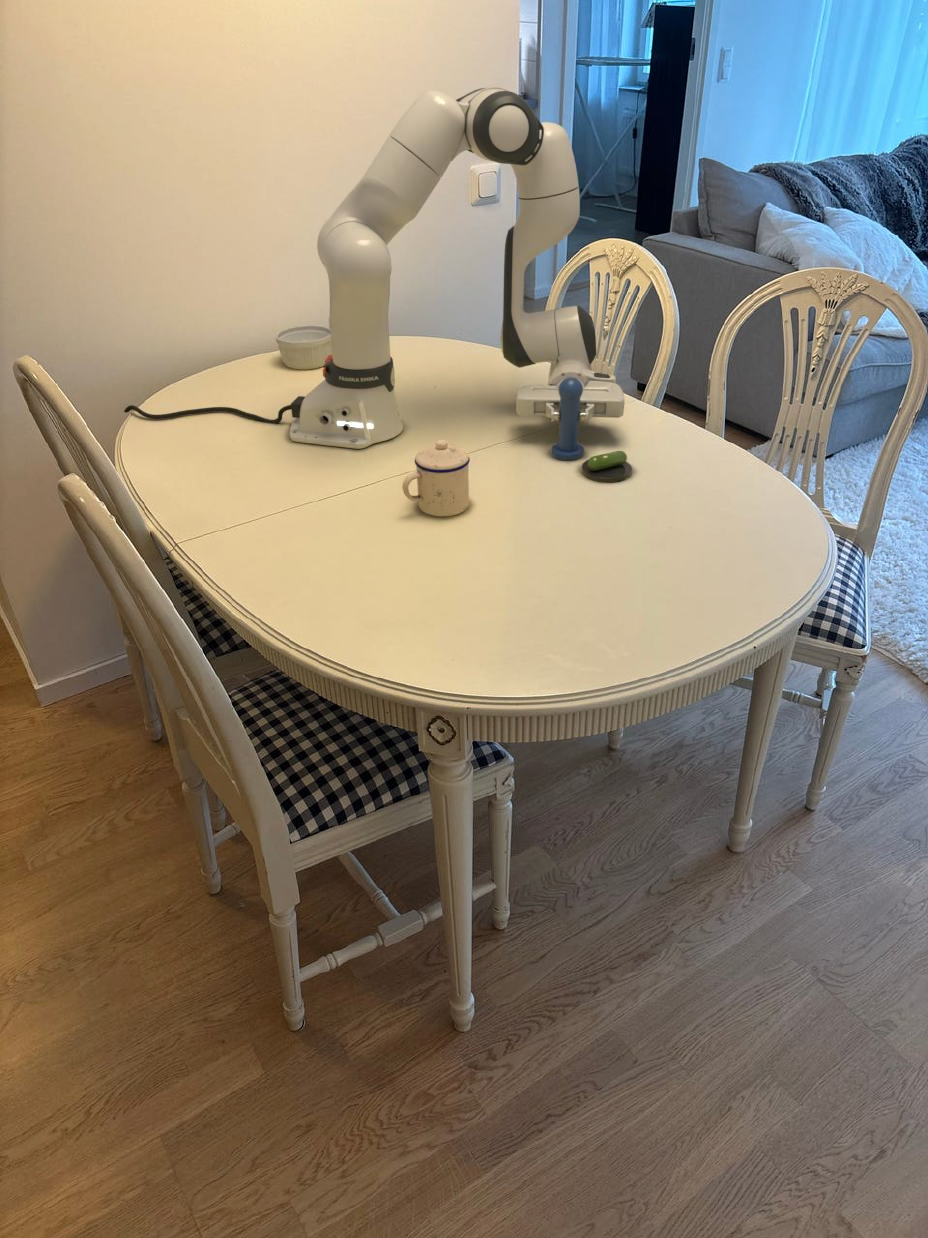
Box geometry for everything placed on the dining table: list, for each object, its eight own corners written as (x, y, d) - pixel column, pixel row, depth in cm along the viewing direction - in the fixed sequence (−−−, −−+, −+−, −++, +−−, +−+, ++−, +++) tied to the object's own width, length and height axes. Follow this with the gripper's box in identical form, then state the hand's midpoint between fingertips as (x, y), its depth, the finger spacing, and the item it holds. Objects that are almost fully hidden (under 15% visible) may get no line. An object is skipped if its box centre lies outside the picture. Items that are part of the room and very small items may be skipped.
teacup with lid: (453, 488, 160) (451, 426, 154) (480, 509, 154) (479, 444, 147) (392, 506, 156) (388, 442, 149) (418, 527, 149) (414, 462, 142)
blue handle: (551, 460, 169) (554, 383, 161) (551, 446, 174) (554, 371, 166) (583, 461, 169) (588, 384, 160) (583, 447, 174) (588, 372, 165)
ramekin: (271, 370, 212) (267, 340, 208) (289, 352, 223) (286, 323, 219) (326, 372, 210) (323, 342, 206) (342, 354, 221) (339, 325, 217)
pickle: (597, 486, 160) (599, 468, 158) (572, 466, 167) (573, 449, 165) (641, 476, 163) (643, 458, 161) (614, 457, 170) (615, 440, 168)
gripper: (517, 373, 177) (512, 400, 166) (623, 375, 175) (626, 402, 164) (516, 404, 181) (512, 432, 169) (621, 407, 179) (623, 435, 167)
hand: (569, 417), depth 166 cm, fingers open, 4 cm apart
